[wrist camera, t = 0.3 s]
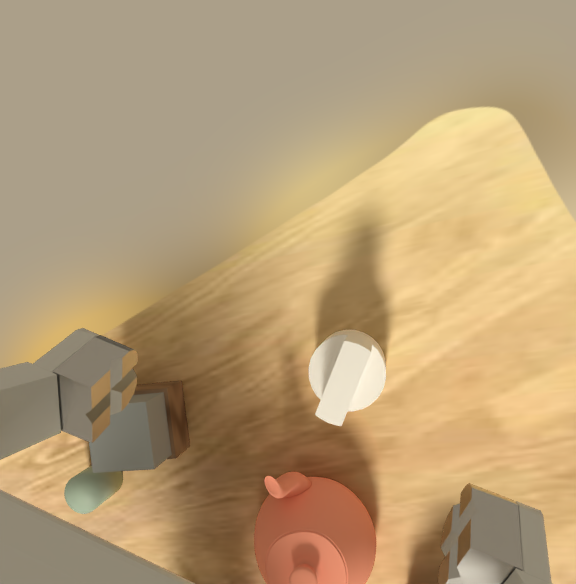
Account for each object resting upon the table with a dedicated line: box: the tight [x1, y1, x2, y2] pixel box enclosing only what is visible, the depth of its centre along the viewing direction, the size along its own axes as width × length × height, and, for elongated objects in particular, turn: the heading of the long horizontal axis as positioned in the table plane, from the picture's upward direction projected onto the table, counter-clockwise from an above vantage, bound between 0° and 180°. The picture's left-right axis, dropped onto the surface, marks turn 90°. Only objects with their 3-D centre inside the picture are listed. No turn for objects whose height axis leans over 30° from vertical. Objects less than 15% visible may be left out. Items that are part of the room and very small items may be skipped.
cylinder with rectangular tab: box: [309, 330, 386, 426], centre depth 59 cm, size 9×9×12 cm
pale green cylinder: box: [65, 465, 123, 514], centre depth 69 cm, size 5×5×6 cm
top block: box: [89, 392, 172, 473], centre depth 63 cm, size 8×8×5 cm
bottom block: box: [133, 381, 190, 459], centre depth 68 cm, size 9×9×5 cm
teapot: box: [254, 472, 376, 584], centre depth 60 cm, size 22×15×12 cm
